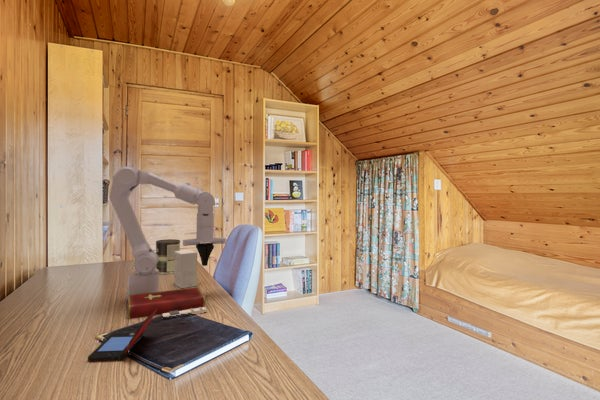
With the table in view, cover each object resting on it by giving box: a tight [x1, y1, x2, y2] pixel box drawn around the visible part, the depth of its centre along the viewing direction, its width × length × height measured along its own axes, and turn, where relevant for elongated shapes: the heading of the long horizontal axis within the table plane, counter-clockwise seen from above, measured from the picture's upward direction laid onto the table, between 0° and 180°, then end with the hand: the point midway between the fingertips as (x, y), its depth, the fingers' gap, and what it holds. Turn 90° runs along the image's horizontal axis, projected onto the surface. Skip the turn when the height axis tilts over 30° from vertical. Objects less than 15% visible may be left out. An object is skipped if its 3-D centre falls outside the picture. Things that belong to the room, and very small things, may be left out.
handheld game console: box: [87, 308, 157, 363], centre depth 74 cm, size 12×11×7 cm
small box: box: [173, 249, 198, 289], centre depth 127 cm, size 8×6×13 cm
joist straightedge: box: [161, 306, 208, 317], centre depth 95 cm, size 12×2×1 cm, turn 121°
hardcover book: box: [127, 286, 206, 320], centre depth 102 cm, size 12×21×4 cm, turn 117°
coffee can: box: [155, 238, 181, 275], centre depth 149 cm, size 10×10×14 cm
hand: (204, 265), depth 115 cm, fingers closed
